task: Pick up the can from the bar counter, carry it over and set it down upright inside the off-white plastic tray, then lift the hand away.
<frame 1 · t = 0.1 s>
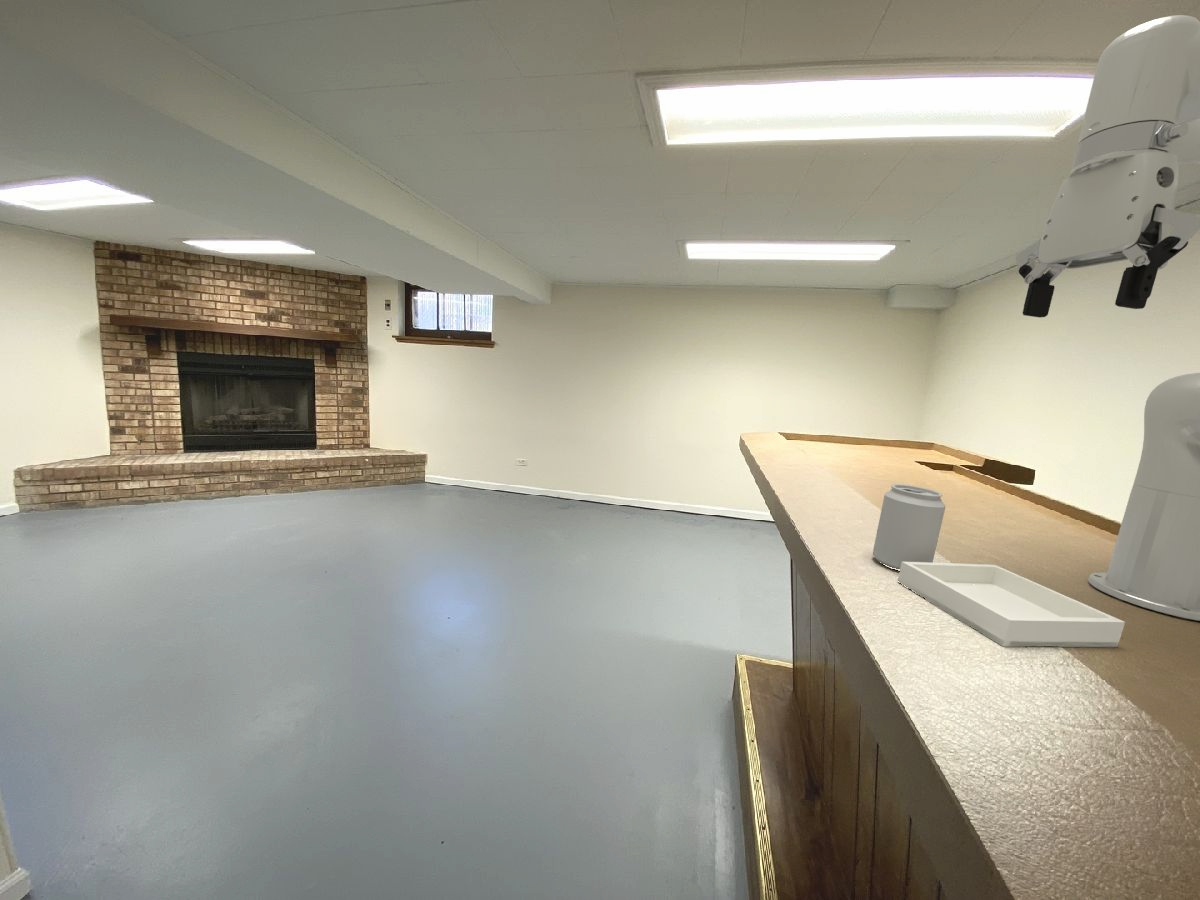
hand: (1077, 312, 55), 37 cm above the worktop, tool pointing down, fingers open, 9 cm apart
tray: (995, 611, 57), on the worktop
can: (899, 567, 69), on the worktop
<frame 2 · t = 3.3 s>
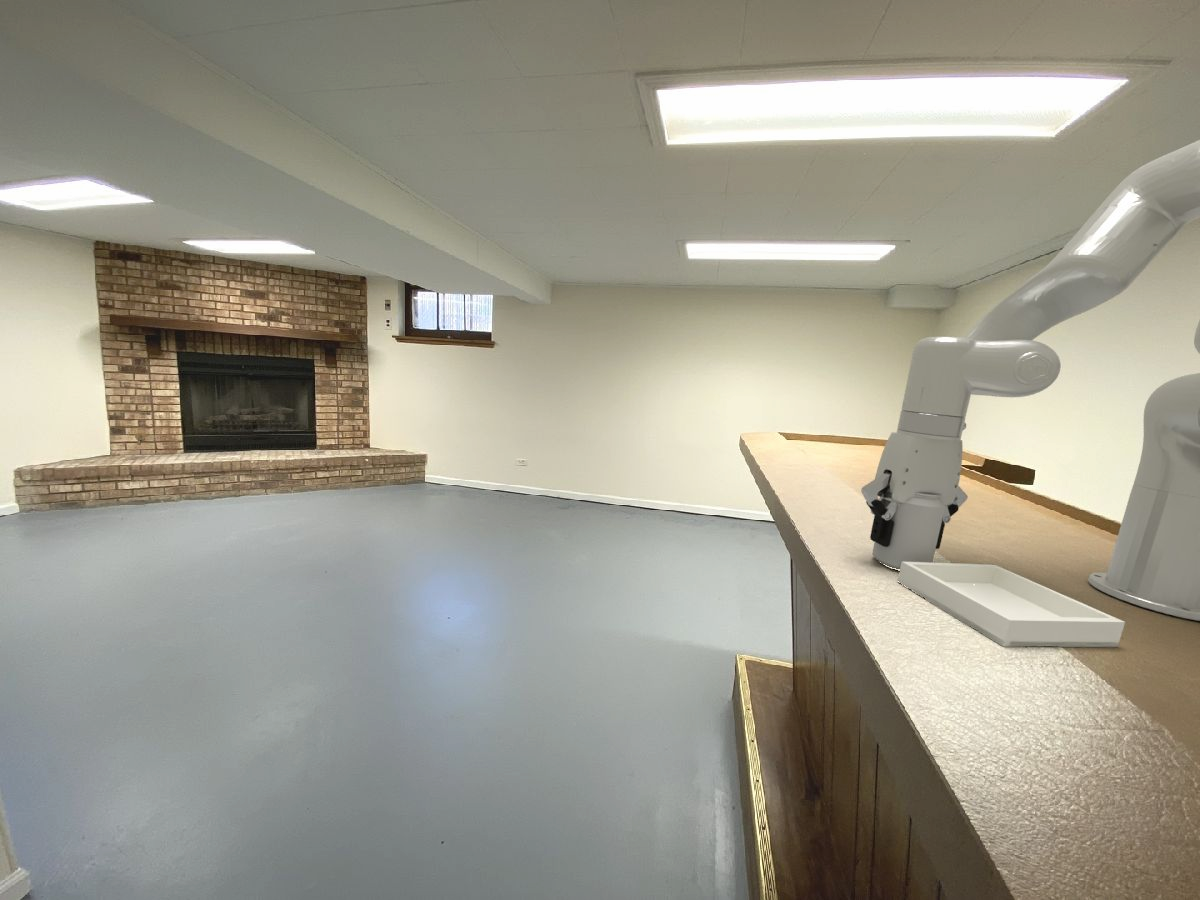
hand: (904, 543, 68), 3 cm above the worktop, tool pointing down, fingers closed on can, 7 cm apart
can: (899, 566, 69), on the worktop, touching gripper
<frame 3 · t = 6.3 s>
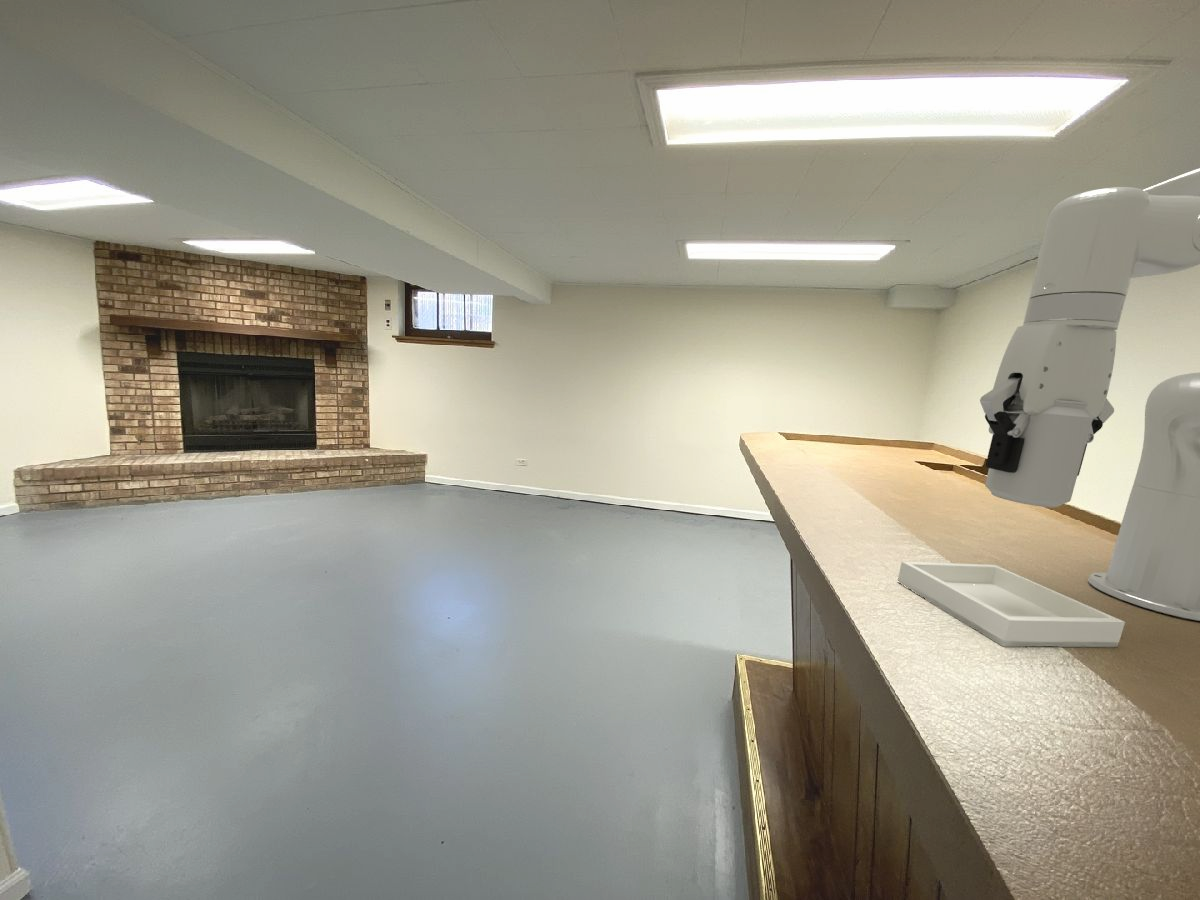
hand: (1031, 471, 54), 18 cm above the worktop, tool pointing down, fingers closed on can, 7 cm apart
can: (1023, 501, 54), point 14 cm above the worktop, touching gripper
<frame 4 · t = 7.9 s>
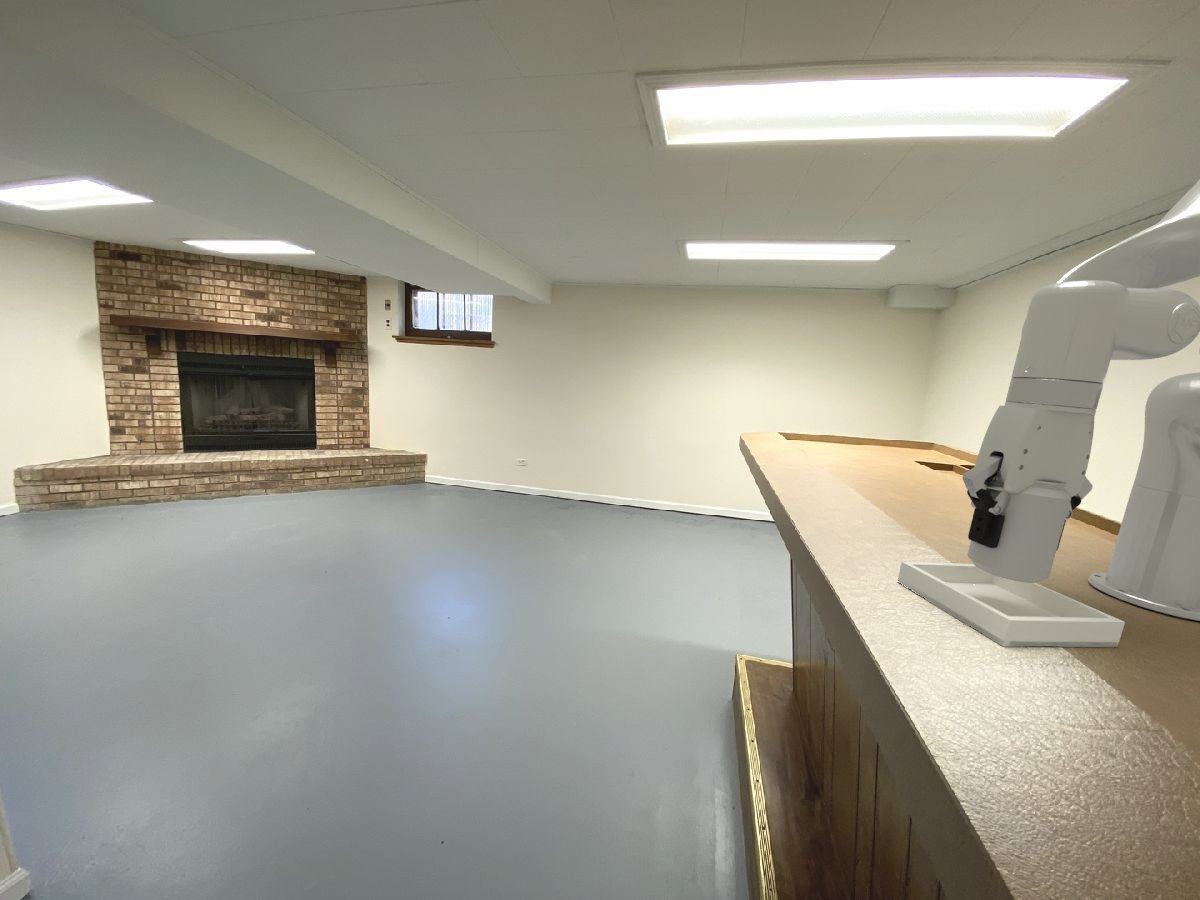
hand: (1011, 544, 55), 9 cm above the worktop, tool pointing down, fingers closed on can, 7 cm apart
can: (1004, 573, 56), point 5 cm above the worktop, touching gripper
when the fingers open (6 cm above the worktop, at t = 9.1 s): can drops 1 cm, resting on tray.
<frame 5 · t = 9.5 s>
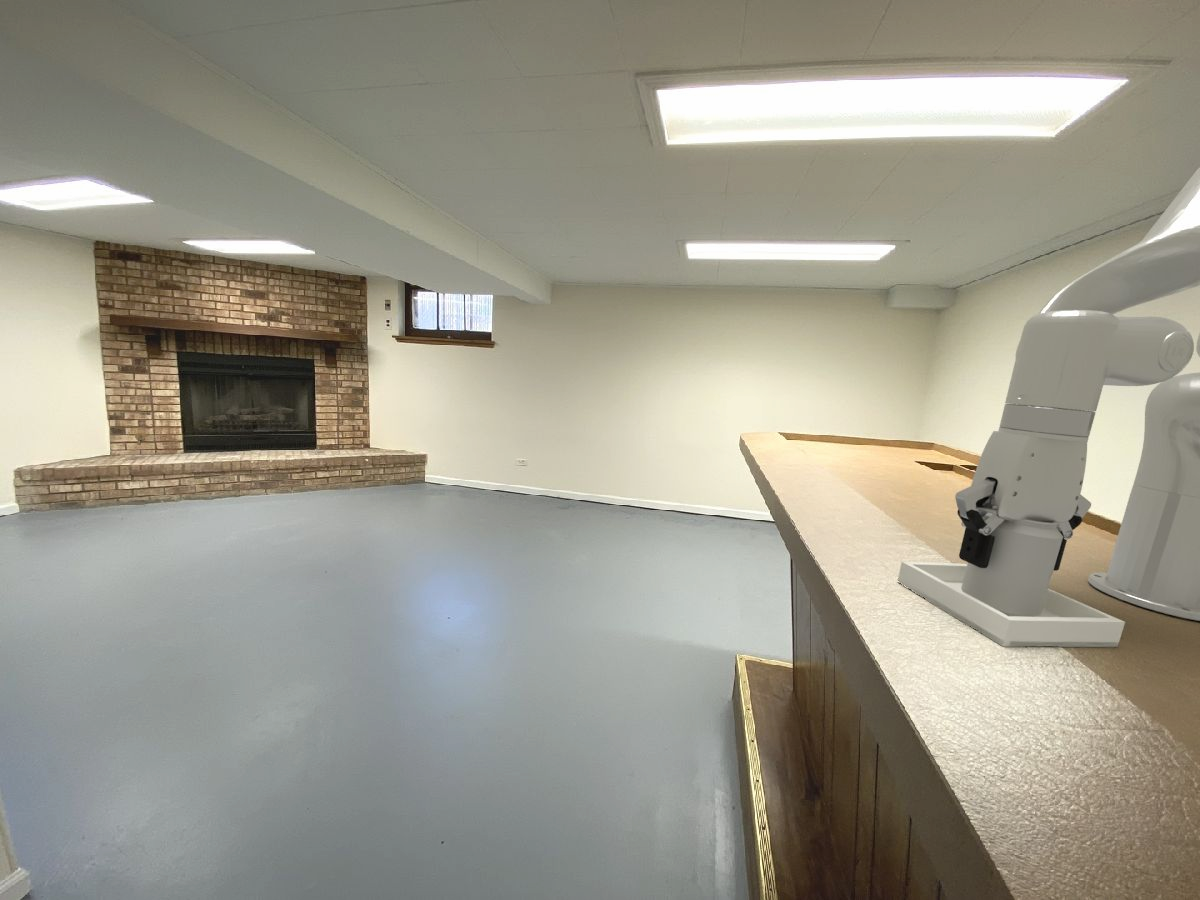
hand: (1007, 564, 55), 6 cm above the worktop, tool pointing down, fingers open, 9 cm apart
can: (997, 607, 56), resting on tray
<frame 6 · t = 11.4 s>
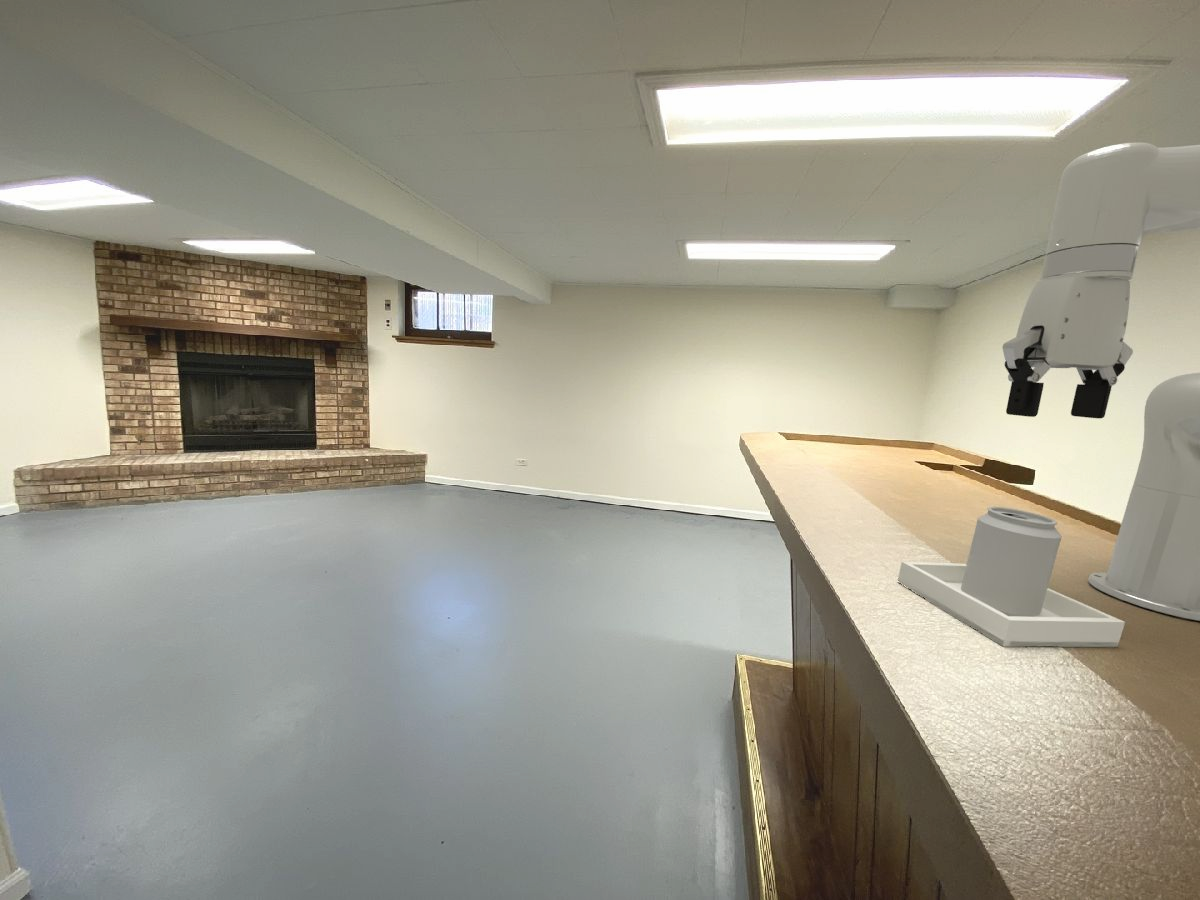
hand: (1054, 416, 56), 24 cm above the worktop, tool pointing down, fingers open, 9 cm apart
nothing on the worktop moved.
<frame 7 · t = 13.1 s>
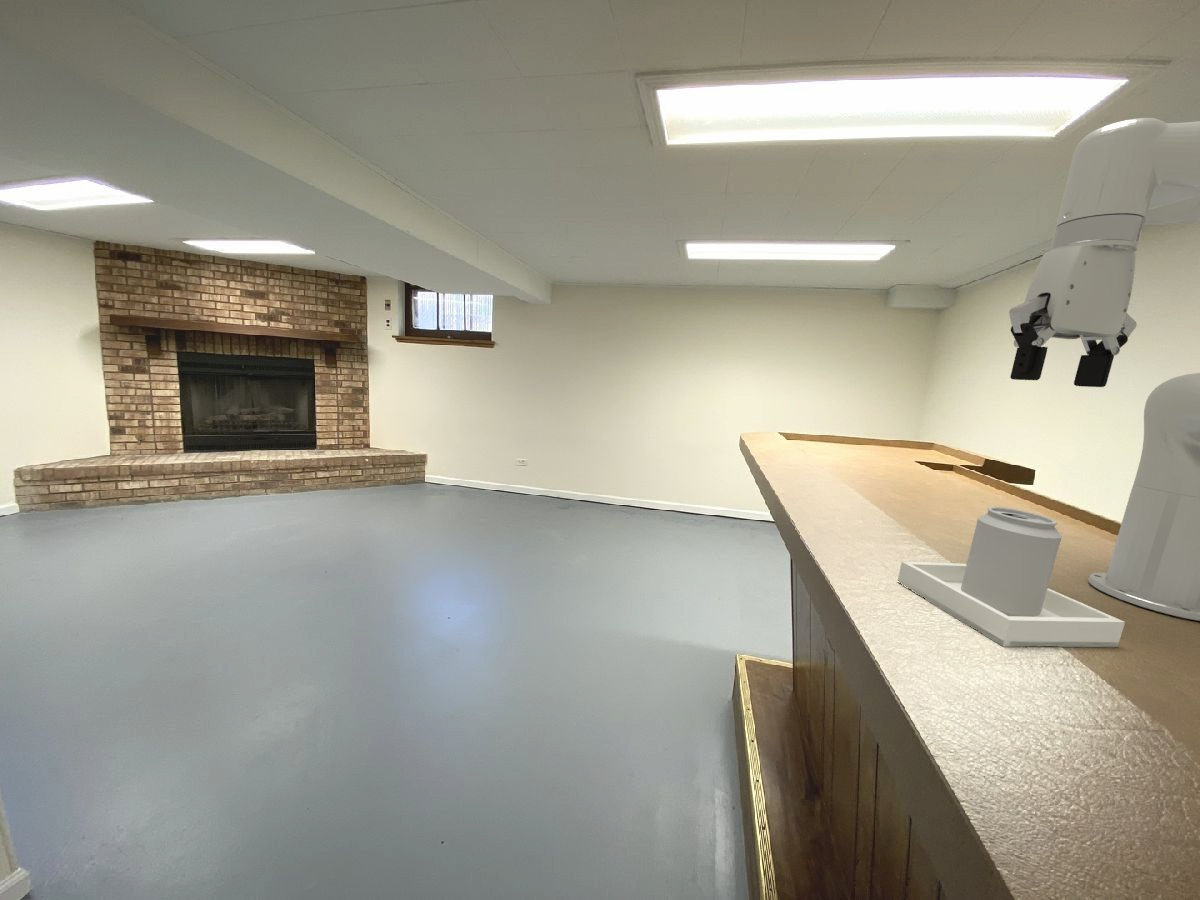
hand: (1056, 383, 59), 28 cm above the worktop, tool pointing down, fingers open, 9 cm apart
nothing on the worktop moved.
at the end: can inside the target area on the tray (0.1 cm from its centre), point 0.4 cm above the tray's base; can tilted 0°; the gripper is holding nothing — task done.
